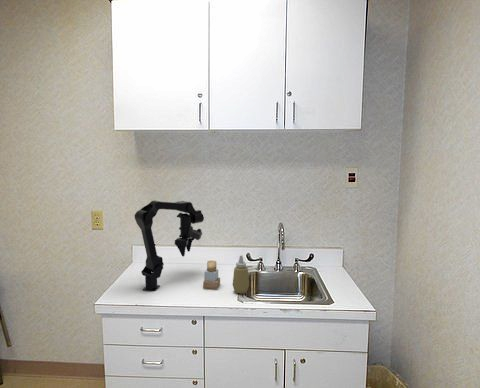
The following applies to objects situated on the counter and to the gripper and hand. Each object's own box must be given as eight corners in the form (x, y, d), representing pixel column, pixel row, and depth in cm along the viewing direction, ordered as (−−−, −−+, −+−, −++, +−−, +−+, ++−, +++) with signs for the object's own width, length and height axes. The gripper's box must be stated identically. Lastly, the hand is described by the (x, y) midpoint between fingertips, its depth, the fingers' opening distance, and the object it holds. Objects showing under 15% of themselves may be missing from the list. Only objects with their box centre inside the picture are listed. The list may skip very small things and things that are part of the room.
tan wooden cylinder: (215, 272, 179) (215, 263, 178) (206, 271, 179) (206, 262, 179) (217, 269, 183) (217, 260, 183) (208, 268, 184) (208, 260, 183)
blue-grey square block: (214, 281, 179) (214, 272, 178) (204, 280, 180) (204, 271, 180) (218, 277, 184) (218, 269, 184) (207, 276, 185) (208, 268, 185)
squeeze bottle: (236, 296, 171) (236, 259, 168) (230, 290, 178) (230, 254, 176) (251, 293, 174) (252, 257, 171) (245, 287, 181) (245, 252, 179)
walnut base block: (217, 290, 178) (217, 282, 178) (203, 289, 179) (203, 281, 179) (220, 285, 185) (220, 277, 184) (206, 284, 186) (206, 276, 185)
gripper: (195, 229, 181) (195, 260, 183) (205, 222, 199) (205, 249, 201) (174, 228, 183) (174, 258, 184) (185, 221, 201) (185, 248, 203)
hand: (186, 253), depth 193 cm, fingers open, 9 cm apart
